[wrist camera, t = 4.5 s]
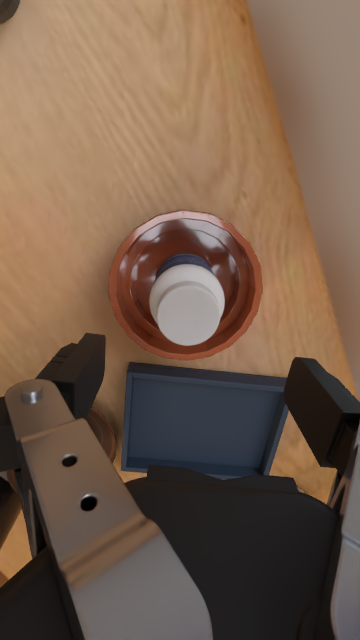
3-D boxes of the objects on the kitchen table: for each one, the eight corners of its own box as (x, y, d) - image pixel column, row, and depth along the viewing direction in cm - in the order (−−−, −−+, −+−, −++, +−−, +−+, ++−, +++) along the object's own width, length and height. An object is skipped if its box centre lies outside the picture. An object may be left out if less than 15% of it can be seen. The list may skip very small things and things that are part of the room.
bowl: (117, 332, 29) (106, 352, 24) (123, 202, 24) (111, 200, 20) (235, 344, 29) (245, 366, 25) (261, 220, 25) (278, 222, 21)
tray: (123, 456, 35) (120, 470, 33) (130, 362, 30) (126, 372, 28) (261, 468, 35) (266, 482, 34) (288, 378, 31) (295, 388, 29)
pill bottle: (144, 270, 26) (127, 301, 17) (195, 240, 25) (206, 255, 16) (174, 317, 28) (172, 369, 19) (223, 291, 27) (246, 331, 18)
